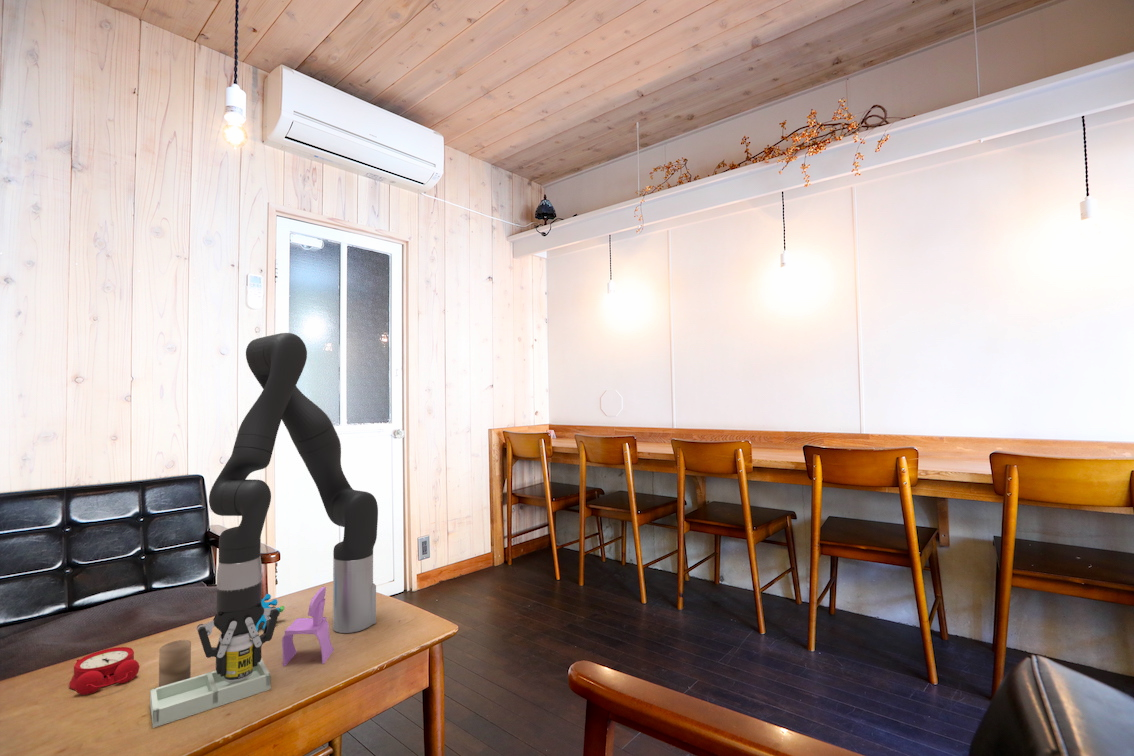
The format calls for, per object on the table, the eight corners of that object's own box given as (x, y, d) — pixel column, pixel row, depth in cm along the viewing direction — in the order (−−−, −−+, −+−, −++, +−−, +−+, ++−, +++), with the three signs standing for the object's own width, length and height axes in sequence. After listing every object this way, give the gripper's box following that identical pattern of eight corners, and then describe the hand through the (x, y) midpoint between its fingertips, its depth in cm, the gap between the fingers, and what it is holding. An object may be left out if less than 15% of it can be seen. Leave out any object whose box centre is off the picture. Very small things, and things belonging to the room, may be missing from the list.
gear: (230, 632, 124) (236, 592, 130) (227, 644, 127) (232, 604, 133) (283, 627, 129) (285, 589, 136) (279, 639, 133) (281, 601, 139)
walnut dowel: (188, 677, 107) (189, 637, 107) (191, 687, 103) (192, 646, 103) (157, 686, 104) (158, 645, 104) (159, 697, 100) (160, 654, 100)
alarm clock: (131, 641, 116) (145, 646, 106) (132, 671, 115) (146, 679, 105) (66, 659, 108) (75, 666, 98) (66, 692, 107) (75, 702, 97)
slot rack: (260, 671, 109) (260, 657, 109) (270, 689, 102) (270, 674, 102) (150, 705, 97) (150, 689, 98) (152, 727, 91) (153, 711, 91)
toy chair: (294, 650, 118) (295, 582, 119) (335, 647, 119) (335, 580, 120) (278, 669, 110) (279, 596, 111) (322, 666, 111) (322, 594, 112)
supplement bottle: (239, 684, 100) (239, 639, 100) (218, 682, 101) (218, 637, 101) (258, 671, 105) (259, 628, 105) (238, 669, 106) (238, 626, 106)
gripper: (275, 569, 111) (275, 651, 110) (193, 585, 102) (191, 675, 101) (284, 578, 105) (283, 664, 105) (197, 596, 96) (196, 691, 95)
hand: (238, 669), depth 103 cm, fingers closed on supplement bottle, 4 cm apart
